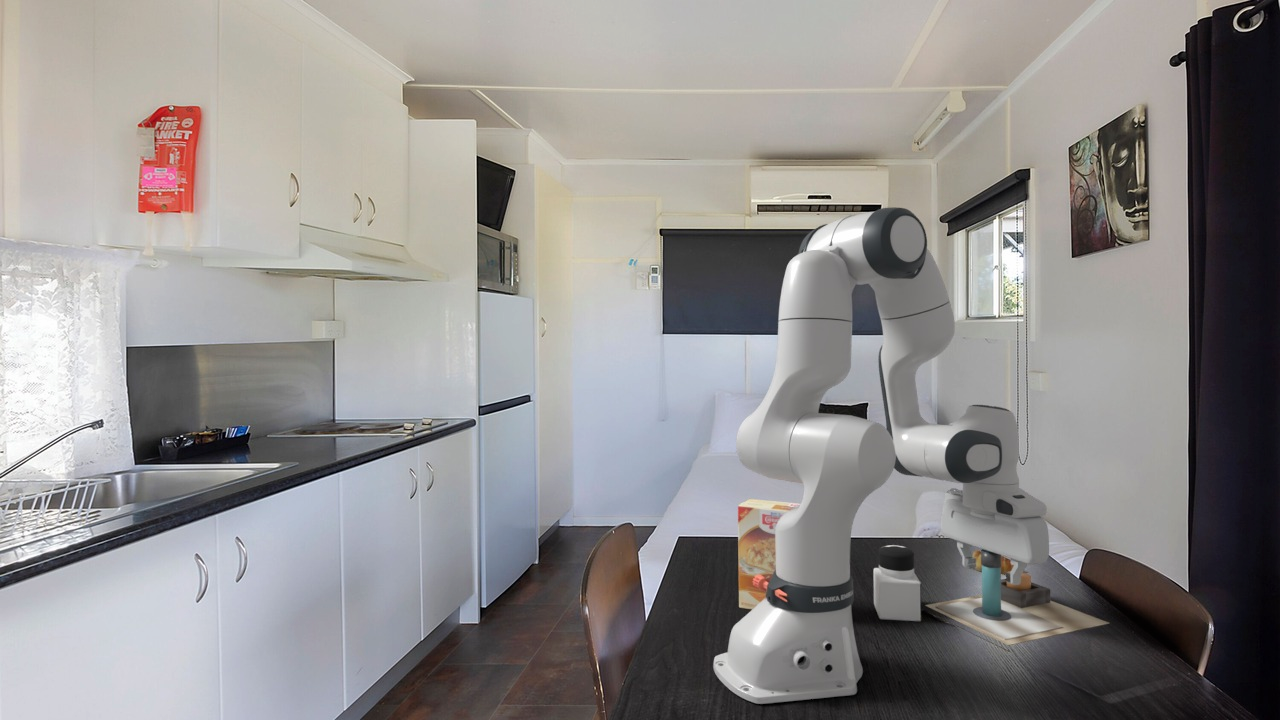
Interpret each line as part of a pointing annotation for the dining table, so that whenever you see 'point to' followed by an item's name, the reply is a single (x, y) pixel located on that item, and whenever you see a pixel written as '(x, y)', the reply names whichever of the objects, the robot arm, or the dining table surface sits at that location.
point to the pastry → (1005, 563)
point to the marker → (991, 583)
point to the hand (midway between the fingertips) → (990, 575)
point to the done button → (1022, 583)
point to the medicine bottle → (897, 585)
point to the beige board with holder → (1017, 615)
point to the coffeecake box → (757, 545)
